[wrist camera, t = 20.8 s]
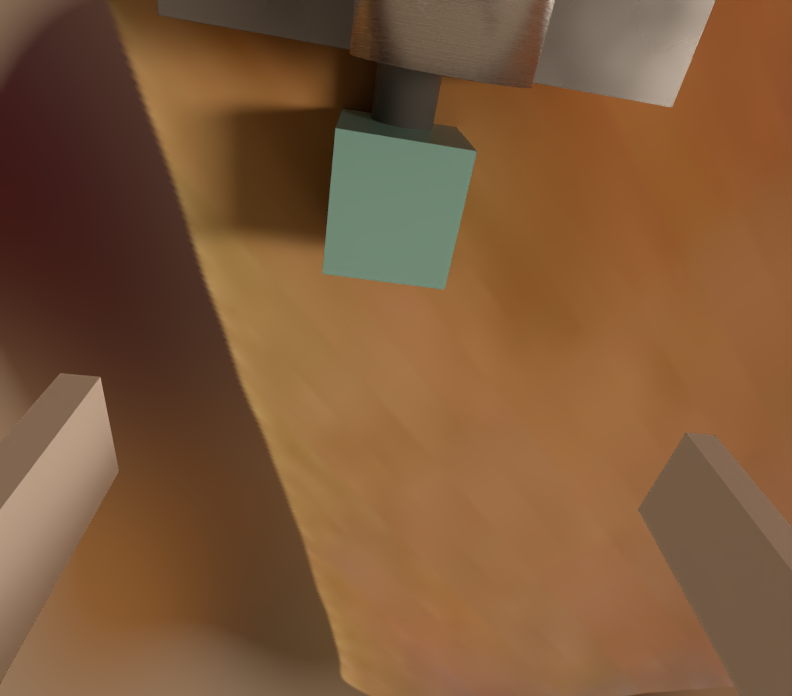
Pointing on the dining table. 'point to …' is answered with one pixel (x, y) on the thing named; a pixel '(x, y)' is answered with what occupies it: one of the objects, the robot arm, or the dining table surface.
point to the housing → (491, 37)
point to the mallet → (397, 185)
